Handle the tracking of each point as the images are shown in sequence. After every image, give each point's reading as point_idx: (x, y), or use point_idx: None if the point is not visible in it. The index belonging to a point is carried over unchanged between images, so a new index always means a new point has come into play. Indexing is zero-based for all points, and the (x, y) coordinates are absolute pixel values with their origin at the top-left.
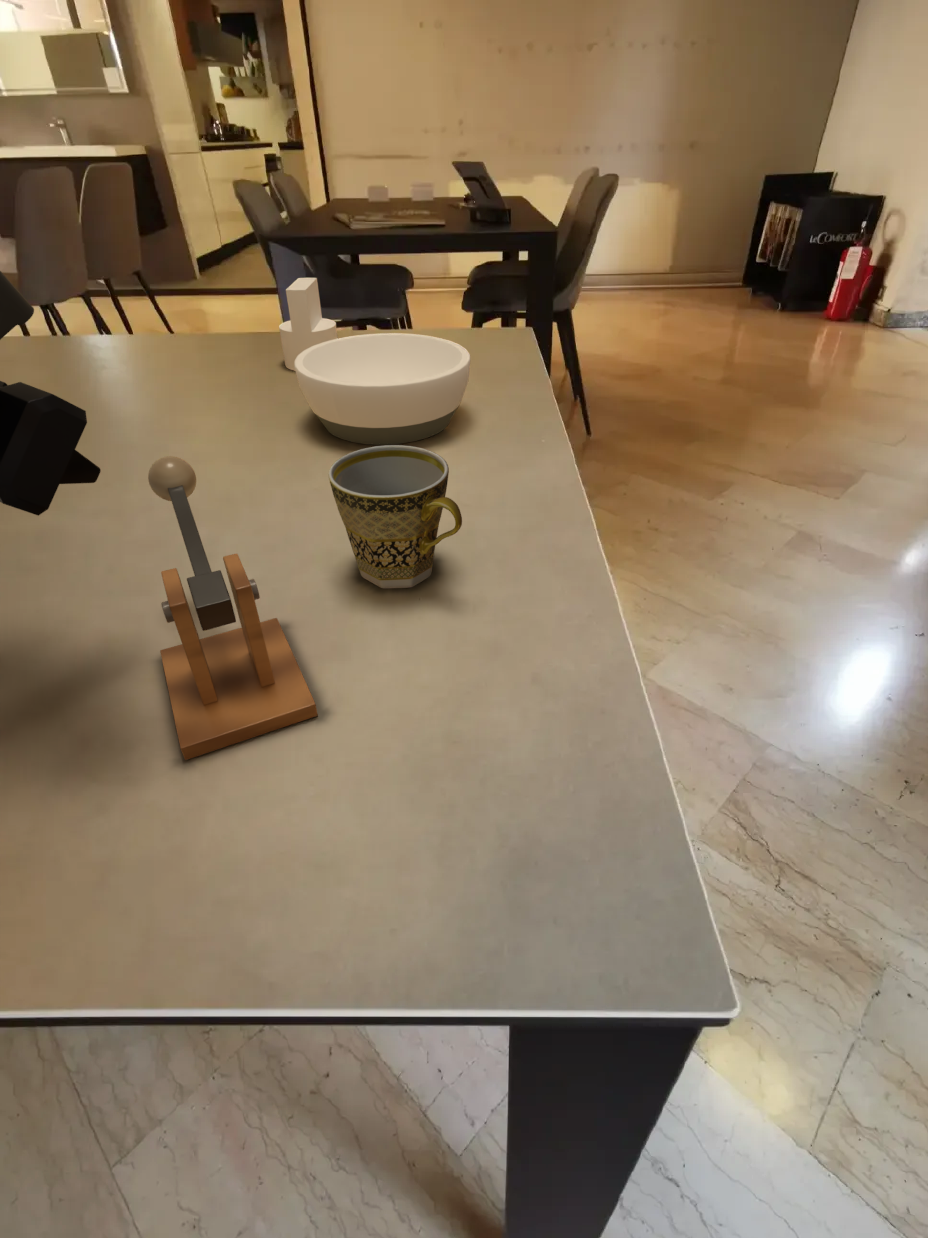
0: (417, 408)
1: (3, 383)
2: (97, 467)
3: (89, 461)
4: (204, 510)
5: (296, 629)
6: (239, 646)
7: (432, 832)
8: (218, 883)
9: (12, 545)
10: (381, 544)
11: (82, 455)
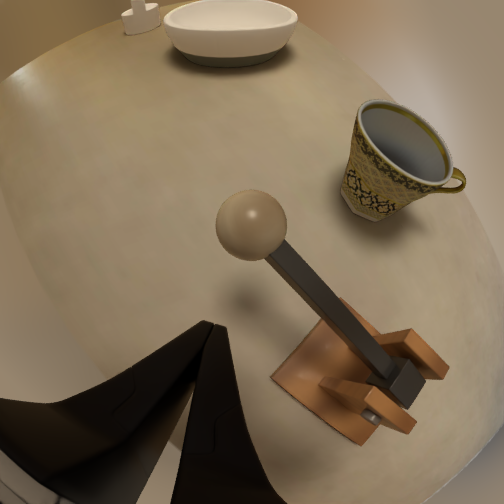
0: (279, 41)
1: (33, 477)
2: (227, 333)
3: (229, 349)
4: (151, 165)
5: (348, 294)
6: (336, 344)
7: (475, 395)
8: (411, 474)
9: (33, 267)
10: (405, 204)
11: (232, 364)
